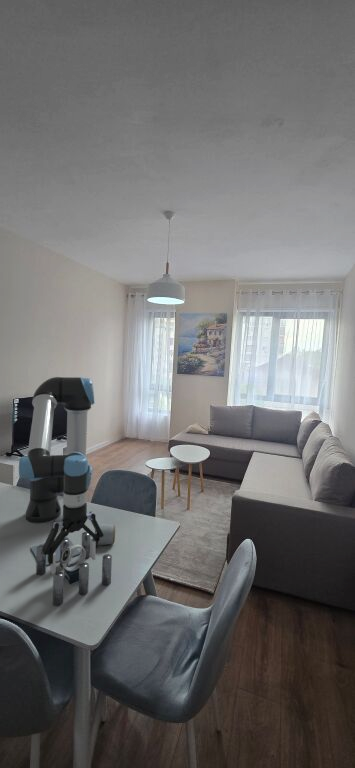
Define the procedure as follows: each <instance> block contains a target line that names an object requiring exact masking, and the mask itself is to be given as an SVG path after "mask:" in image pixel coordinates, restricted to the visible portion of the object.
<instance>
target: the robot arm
mask: <svg viewBox="0 0 355 768" xmlns="http://www.w3.org/2000/svg"><path fill="white" fill-rule="evenodd" d="M34 391H35V392H34V394H33V396H32V402H31V404H32V406H33V413H32V422H31V425H30V433H29V434H30V435H29V442H28V449H27V455H25V456H21V457H20V458H19V460H18V461H19V462H18V476H19V478H21V479H29V482H30V483H29V502H28V505H27V507H26V510H25V520H26V521H27V522H30V523H34V524H43V523H44V524H45V523H49V522H52V525H51V529H50V531H49V534H48V536H47V538H46V540H45V542H44V543H45V544H44V543H43V544H44V546H43V548H42V552H43V554H44V555H48V563H49V564H51V565H50V570H49V571H50V572H51V574H52V576H53V575H54V573H56V572H57V571H56V567H57V563H56V554H55V551H56V549H57V548H58V547H59V545H60V544H61V542H62V541H63V540H64V538H65V537H68V535H69V534H72V533H75V532H79V531H81V529H83V530H84V532H87V533H88V534H90V557H89V558H91V560H92V561H95V560H96V551H97V549H98V547H99V545H98V541H99V540H100V539H99V538H100V537H103V536H104V535H103V533H102V531H101V529H100V527H99V525H98V524H99V523H98V521H97V519H96V514H95V512H93V511H89V513H88V512H87V507H88V503H87V501H88V490H89V489H90V486H91V482H92V474H93V473H92V472H93V467H92V465H90V462H89V460H88V458H87V435H88V433H87V431H88V412H89V411H90V410H91V409H92V405H94V404H95V394H94V385H93V380H92V379H91V378H88V377H81V376H80V377H79V376H78V377H76V376H75V377H71V376H70V377H64V376H63V377H60V376H56V377H55V376H54V377H51V378H48V379H46V380H45V381H43V382H42V383H41V384H40V385H39V386H38V387H37V388H36V390H34ZM58 404H59V405H63V408H64V410H65V411H66V412H67V415H66V417H67V420H66V454H60V455H59V454H57V455H54V454H51V450H52V449H51V448H52V438H53V437H52V436H53V426H54V425H53V424H54V414H55V413H54V411H55V409H56V407H57V406H58ZM58 494H62V495H63V496H62V497H63V498H62V504H63V505H62V507H61V505H60V502H59V498H58ZM61 509H62V510H61ZM61 514H62V519H61V521H56V519H58V518H59V517H60V516H61ZM87 520H89V521H90V522H91V524H92V526H93V528H94V531H95V530H96V532H97V534H95V532H93V530H91V528H89V526H87V524H86V523H87ZM61 527H62V528H61ZM59 530H60V531H59Z"/></svg>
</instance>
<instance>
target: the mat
mask: <svg viewBox="0 0 355 768" xmlns="http://www.w3.org/2000/svg"><path fill="white" fill-rule="evenodd" d="M65 538H68V539H69V537H68V536H66V537H65ZM44 544H45V542H44V543H41V544H37V545H34V546H32V547H30V550H31V552H32V553H33V555H34V556H35V558H36V556H37V547H38V546H40V545H44ZM71 545H74V544H73V542H72V541H71V540H70V539H69V546H71ZM55 554H56V564H57V563H60V545H59V547H58V548H57V549H56V551H55ZM77 556H81V553H80V551H79V550H78V548H77V549H75V551H74V552H73V556H72V558H75V557H77ZM49 566H51V564H49V563H48V555H46V567H49Z"/></svg>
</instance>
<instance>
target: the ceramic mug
mask: <svg viewBox="0 0 355 768" xmlns="http://www.w3.org/2000/svg"><path fill="white" fill-rule="evenodd" d="M98 525H99V527H100V529H101V531H102V533H103V535H104V536H103V537H100V538H99V539H100V540H99V541H98V546H99V545H101V546H102V545H103V546H104V545H112V544H114V543H115V540H116V525H114V524H108V523H98ZM94 534H97V532H96V530H95V529H94Z"/></svg>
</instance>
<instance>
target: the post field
mask: <svg viewBox="0 0 355 768" xmlns="http://www.w3.org/2000/svg"><path fill="white" fill-rule="evenodd" d="M90 539H91V535H90V534H88V533H87V532H86V531H84V532H82V534H81V546H82V547H83V548H84V549H85V551H86V558H85V560H88V559H90V558H91V557H90ZM69 540H70V539H69V537H68V538H64V540H63V541H62V542H61V544H60V562H59V567H61V568H64V567H63V565H62V563H61V556H62V553H63V551H64V550H65V549H66V548H68V547H69ZM39 545H40V544H39ZM43 546H44V545H40V546H38V547H37V556H36V557H35V558H36V559H35V560H36V562H35V565H36V566H35V567H36V569H35V570H36V571H35V573H36V576H40V577H41V576H44V575H45V574H46V571H47V569H46V567H47V566H46V555H44V554H43V552H42V548H43ZM82 551H83V549H81V553H80V555H81V554H82ZM85 560H84V562H83V563H81V564H80V565H79V581H78V590H77V591H78V592H77V593H78V595H79V596H83V597H84V596H87V595H88V593H89V580H90V578H89V576H90V575H89V573H90V572H89V571H90V564H89V563H88V562H86V561H85ZM112 560H113V556H112V554H110V553H108V554H104V555H103V556H102V563H101V564H102V565H101V566H102V567H101V568H102V569H101V585H102V586H105V587H106V586H109V585H111V584H112V563H113V562H112ZM68 565H70V562H69V563H68V564H67V566H68ZM64 579H65V576H64V571H56V573H54V575H53V574H52V605H53V607H60V606H62V605H63V604H64V583H65V580H64Z"/></svg>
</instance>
